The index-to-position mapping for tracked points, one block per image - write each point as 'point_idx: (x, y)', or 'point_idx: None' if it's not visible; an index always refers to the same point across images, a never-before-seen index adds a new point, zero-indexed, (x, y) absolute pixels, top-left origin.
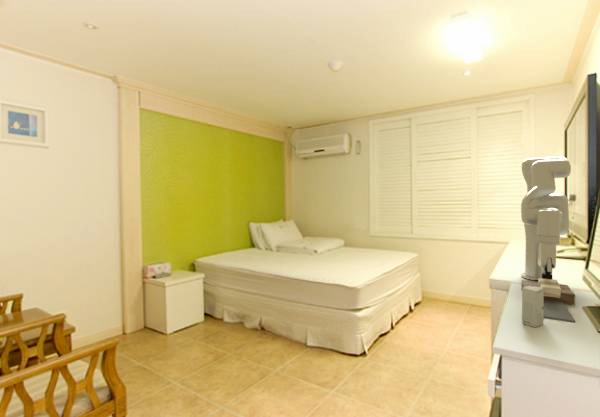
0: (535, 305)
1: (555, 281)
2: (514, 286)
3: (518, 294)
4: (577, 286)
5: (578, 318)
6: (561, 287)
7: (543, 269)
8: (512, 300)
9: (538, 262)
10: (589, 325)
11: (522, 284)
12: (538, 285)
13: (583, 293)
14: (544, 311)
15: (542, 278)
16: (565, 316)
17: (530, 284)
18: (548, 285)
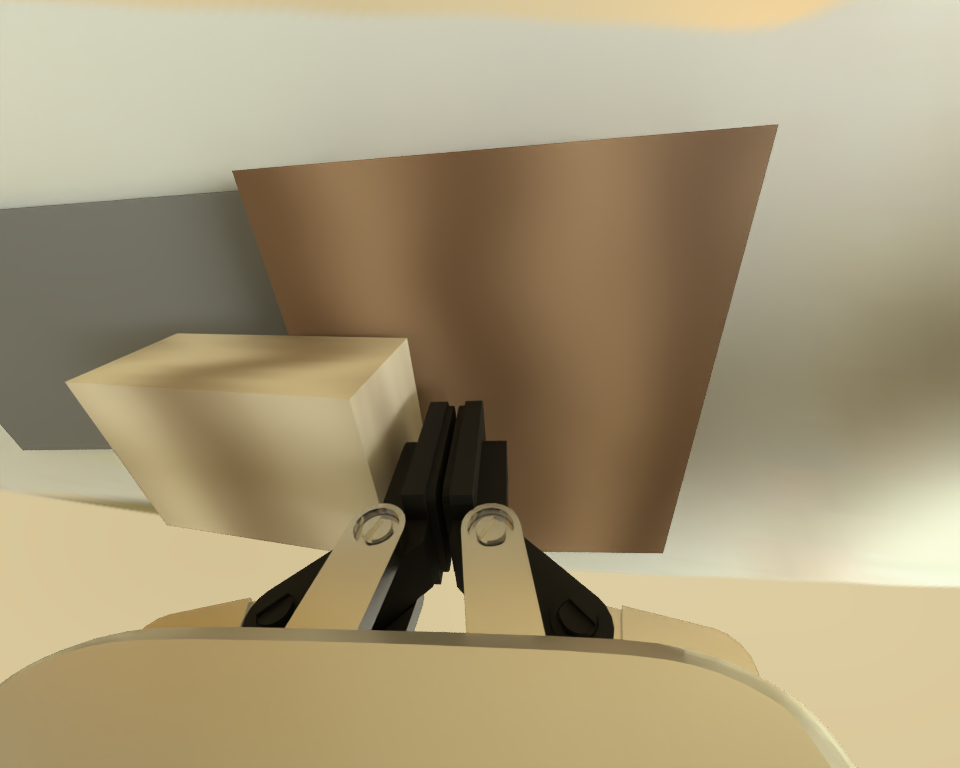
0: None
1: (336, 539)
2: (840, 29)
3: (426, 100)
4: (901, 565)
5: (122, 465)
6: (547, 510)
7: (365, 592)
8: (115, 26)
9: (487, 744)
10: (56, 487)
11: (573, 142)
12: (344, 350)
13: (701, 560)
14: (12, 317)
15: (358, 445)
16: (49, 419)
17: (535, 256)
18: (170, 456)
